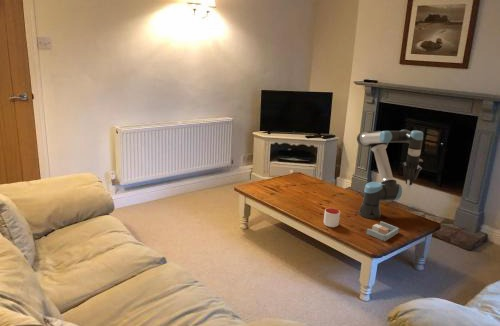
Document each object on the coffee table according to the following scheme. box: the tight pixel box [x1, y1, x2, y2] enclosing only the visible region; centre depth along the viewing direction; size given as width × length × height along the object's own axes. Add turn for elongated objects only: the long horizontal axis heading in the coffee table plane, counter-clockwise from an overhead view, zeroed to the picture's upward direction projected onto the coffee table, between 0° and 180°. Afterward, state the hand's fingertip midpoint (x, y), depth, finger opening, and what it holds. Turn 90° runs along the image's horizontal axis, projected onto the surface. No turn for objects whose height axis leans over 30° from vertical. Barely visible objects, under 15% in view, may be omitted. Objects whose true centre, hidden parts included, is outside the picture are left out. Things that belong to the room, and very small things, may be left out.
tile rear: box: [371, 223, 382, 232], centre depth 269 cm, size 4×4×4 cm
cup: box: [323, 207, 341, 228], centre depth 274 cm, size 10×10×10 cm
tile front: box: [378, 226, 390, 235], centre depth 266 cm, size 4×4×4 cm
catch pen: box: [365, 221, 400, 242], centre depth 266 cm, size 13×18×4 cm
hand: (407, 189), depth 271 cm, fingers closed
